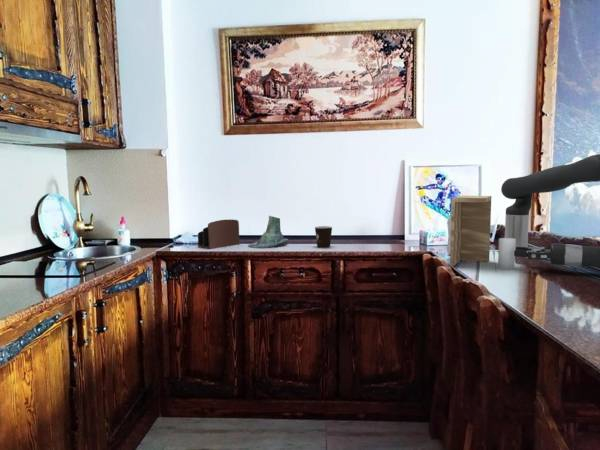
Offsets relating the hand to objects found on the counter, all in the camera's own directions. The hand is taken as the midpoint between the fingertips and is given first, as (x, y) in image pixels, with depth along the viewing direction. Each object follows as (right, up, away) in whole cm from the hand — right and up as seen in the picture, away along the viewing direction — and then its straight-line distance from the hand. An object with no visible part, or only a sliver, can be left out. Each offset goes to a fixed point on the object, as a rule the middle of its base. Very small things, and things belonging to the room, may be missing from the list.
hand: (514, 251), depth 160 cm
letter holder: (-122, -1, +66) cm, 139 cm away
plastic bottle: (-12, -4, +28) cm, 31 cm away
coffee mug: (-68, -1, +58) cm, 89 cm away
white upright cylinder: (-2, -6, +2) cm, 7 cm away
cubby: (-13, -6, +10) cm, 17 cm away
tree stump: (-97, -1, +65) cm, 116 cm away
